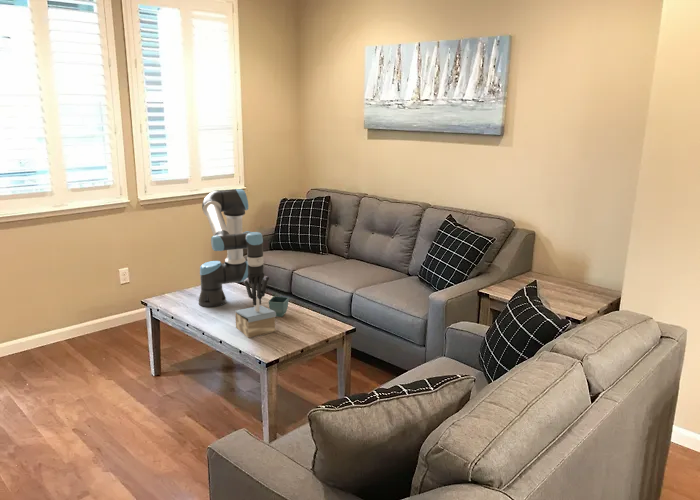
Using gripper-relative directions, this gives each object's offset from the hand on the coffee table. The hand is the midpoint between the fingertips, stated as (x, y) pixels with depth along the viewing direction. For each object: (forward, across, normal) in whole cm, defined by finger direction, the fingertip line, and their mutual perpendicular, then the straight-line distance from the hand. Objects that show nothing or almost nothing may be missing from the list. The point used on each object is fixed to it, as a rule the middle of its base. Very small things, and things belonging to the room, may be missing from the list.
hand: (257, 310), depth 275 cm
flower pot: (+11, +19, +15) cm, 27 cm away
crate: (+11, 0, +3) cm, 11 cm away
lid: (+3, 0, +2) cm, 4 cm away
